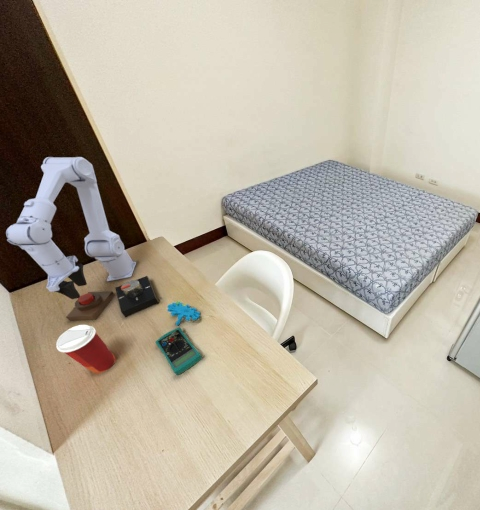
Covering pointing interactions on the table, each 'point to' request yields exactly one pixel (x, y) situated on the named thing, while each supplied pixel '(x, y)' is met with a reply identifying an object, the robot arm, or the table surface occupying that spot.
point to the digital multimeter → (178, 350)
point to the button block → (91, 307)
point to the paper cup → (86, 348)
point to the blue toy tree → (183, 311)
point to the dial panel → (137, 298)
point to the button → (86, 298)
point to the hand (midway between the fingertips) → (79, 291)
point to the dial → (132, 288)
